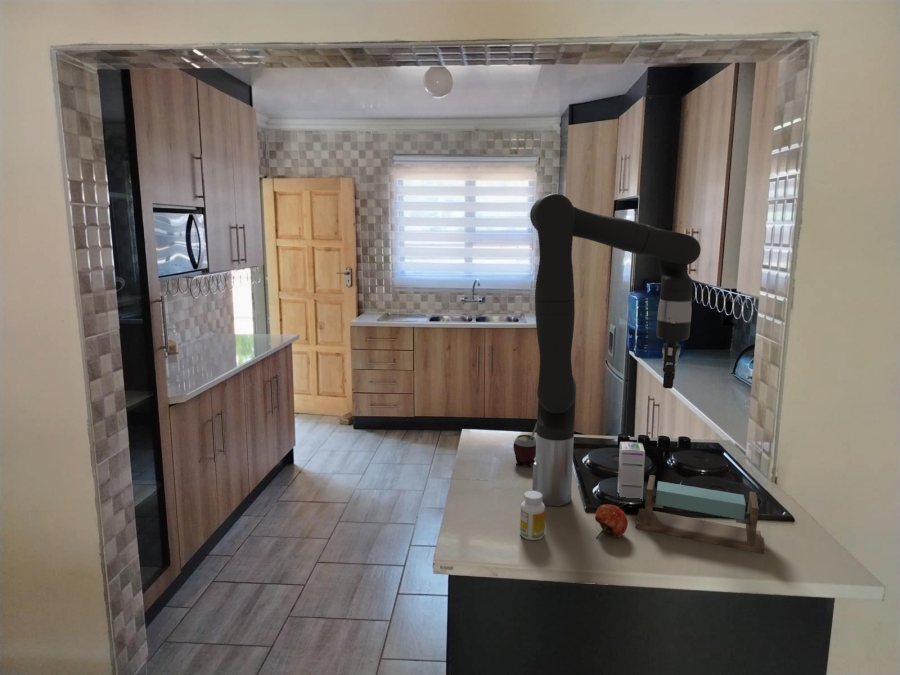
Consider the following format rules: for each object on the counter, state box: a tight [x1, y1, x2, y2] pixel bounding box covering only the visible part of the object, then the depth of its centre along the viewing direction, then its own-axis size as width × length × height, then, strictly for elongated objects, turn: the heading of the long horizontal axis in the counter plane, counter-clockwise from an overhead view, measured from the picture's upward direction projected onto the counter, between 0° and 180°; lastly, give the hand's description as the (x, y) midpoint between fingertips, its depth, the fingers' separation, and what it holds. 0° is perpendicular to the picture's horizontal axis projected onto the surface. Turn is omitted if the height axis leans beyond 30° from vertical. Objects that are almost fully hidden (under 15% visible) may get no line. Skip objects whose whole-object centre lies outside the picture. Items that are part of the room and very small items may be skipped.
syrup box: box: [617, 441, 646, 500], centre depth 143 cm, size 6×6×14 cm
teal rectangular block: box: [655, 480, 747, 520], centre depth 128 cm, size 18×5×4 cm, turn 67°
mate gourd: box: [512, 422, 537, 469], centre depth 165 cm, size 8×8×15 cm
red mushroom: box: [594, 503, 629, 539], centre depth 128 cm, size 7×7×10 cm
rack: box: [635, 474, 765, 554], centre depth 129 cm, size 26×8×10 cm, turn 66°
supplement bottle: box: [519, 490, 546, 541], centre depth 127 cm, size 5×5×10 cm
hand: (668, 383), depth 140 cm, fingers open, 8 cm apart
